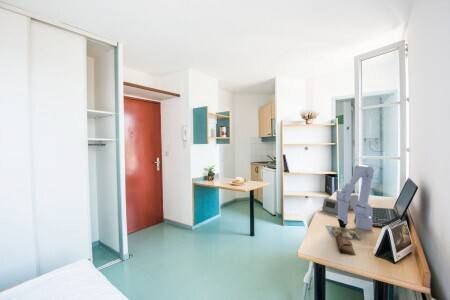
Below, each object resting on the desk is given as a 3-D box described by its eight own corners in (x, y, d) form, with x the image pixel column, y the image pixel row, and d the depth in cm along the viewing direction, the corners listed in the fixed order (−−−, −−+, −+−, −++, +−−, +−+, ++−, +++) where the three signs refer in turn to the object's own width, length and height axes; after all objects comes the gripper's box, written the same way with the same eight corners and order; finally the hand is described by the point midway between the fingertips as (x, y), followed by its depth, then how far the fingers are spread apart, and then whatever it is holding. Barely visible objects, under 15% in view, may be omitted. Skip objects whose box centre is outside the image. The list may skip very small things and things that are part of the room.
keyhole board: (352, 228, 153) (353, 223, 153) (363, 241, 134) (363, 235, 134) (324, 226, 157) (325, 221, 157) (331, 238, 139) (331, 232, 138)
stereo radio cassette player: (358, 209, 194) (359, 187, 193) (350, 210, 193) (350, 187, 192) (342, 202, 215) (343, 182, 214) (334, 203, 214) (335, 182, 213)
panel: (354, 233, 144) (355, 228, 144) (360, 240, 134) (360, 235, 134) (331, 231, 147) (331, 226, 147) (335, 237, 137) (335, 232, 137)
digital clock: (320, 209, 194) (321, 197, 193) (328, 208, 197) (328, 196, 196) (336, 215, 179) (336, 203, 178) (344, 214, 182) (344, 201, 181)
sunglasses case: (357, 256, 117) (350, 244, 118) (344, 260, 120) (337, 249, 121) (350, 241, 134) (344, 231, 135) (339, 245, 136) (333, 235, 137)
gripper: (333, 206, 154) (333, 225, 155) (339, 213, 140) (338, 234, 140) (344, 207, 152) (344, 226, 153) (351, 214, 138) (350, 235, 139)
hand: (342, 230), depth 147 cm, fingers closed
